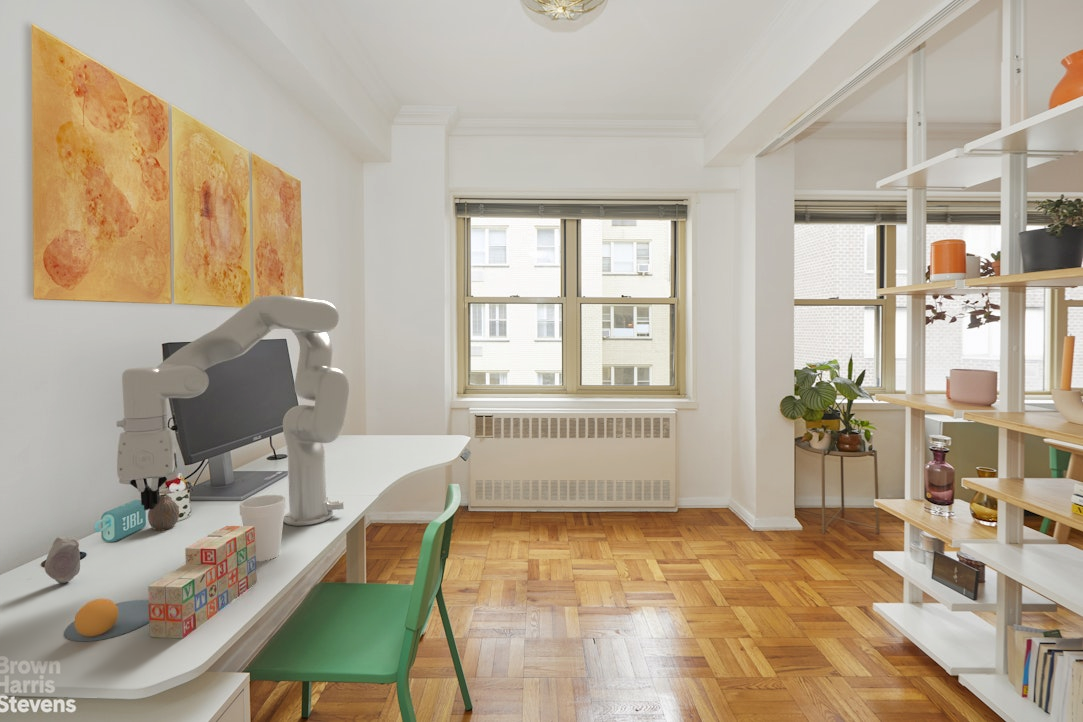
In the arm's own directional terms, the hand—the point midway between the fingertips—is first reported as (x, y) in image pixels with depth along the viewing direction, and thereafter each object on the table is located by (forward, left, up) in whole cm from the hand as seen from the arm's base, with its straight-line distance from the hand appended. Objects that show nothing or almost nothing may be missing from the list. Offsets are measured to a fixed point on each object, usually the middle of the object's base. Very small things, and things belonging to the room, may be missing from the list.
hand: (150, 507), depth 121 cm
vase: (+6, -30, -14) cm, 34 cm away
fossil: (+16, +1, -14) cm, 21 cm away
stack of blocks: (-15, +23, -14) cm, 31 cm away
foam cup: (-22, 0, -14) cm, 26 cm away
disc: (0, +22, -14) cm, 26 cm away
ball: (+1, +27, -11) cm, 29 cm away
